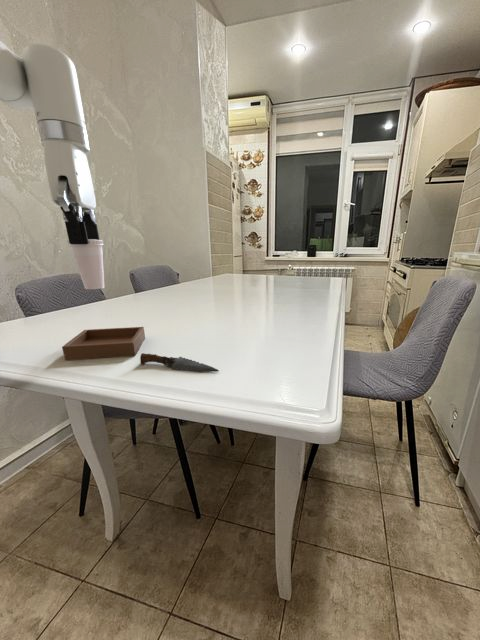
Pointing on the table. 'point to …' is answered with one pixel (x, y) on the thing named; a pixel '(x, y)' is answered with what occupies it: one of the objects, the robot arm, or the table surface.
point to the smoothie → (90, 263)
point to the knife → (176, 363)
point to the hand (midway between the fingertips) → (85, 243)
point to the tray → (104, 343)
